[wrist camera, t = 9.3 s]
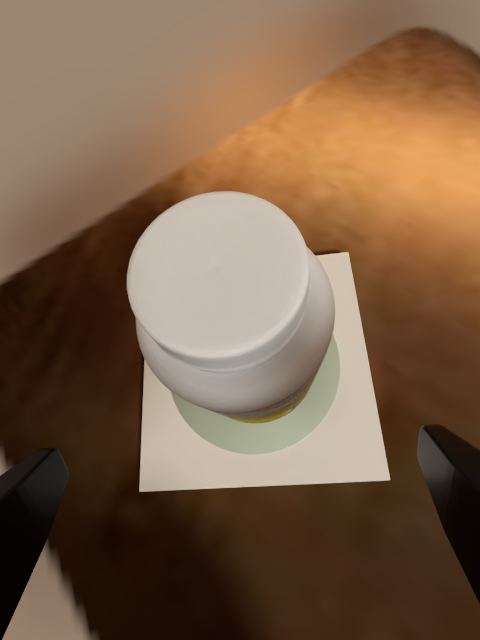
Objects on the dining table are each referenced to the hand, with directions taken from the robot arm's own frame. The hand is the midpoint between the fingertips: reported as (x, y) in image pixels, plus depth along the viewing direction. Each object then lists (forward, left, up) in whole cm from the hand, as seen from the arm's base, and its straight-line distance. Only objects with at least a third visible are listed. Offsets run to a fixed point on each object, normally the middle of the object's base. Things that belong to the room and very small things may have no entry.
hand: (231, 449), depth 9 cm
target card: (+1, +4, -8) cm, 9 cm away
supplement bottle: (+1, +3, -8) cm, 9 cm away
